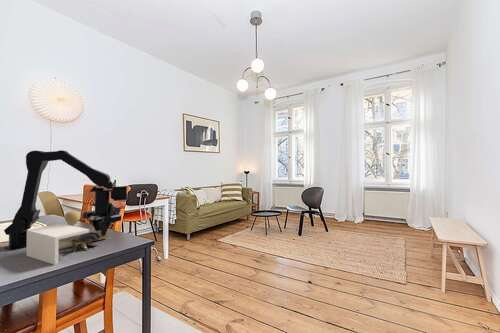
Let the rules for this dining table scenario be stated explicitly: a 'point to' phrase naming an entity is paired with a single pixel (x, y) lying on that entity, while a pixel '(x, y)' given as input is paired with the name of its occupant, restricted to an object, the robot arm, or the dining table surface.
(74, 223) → the light bulb
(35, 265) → the dining table surface
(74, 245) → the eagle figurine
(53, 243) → the low shelf
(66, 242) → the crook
